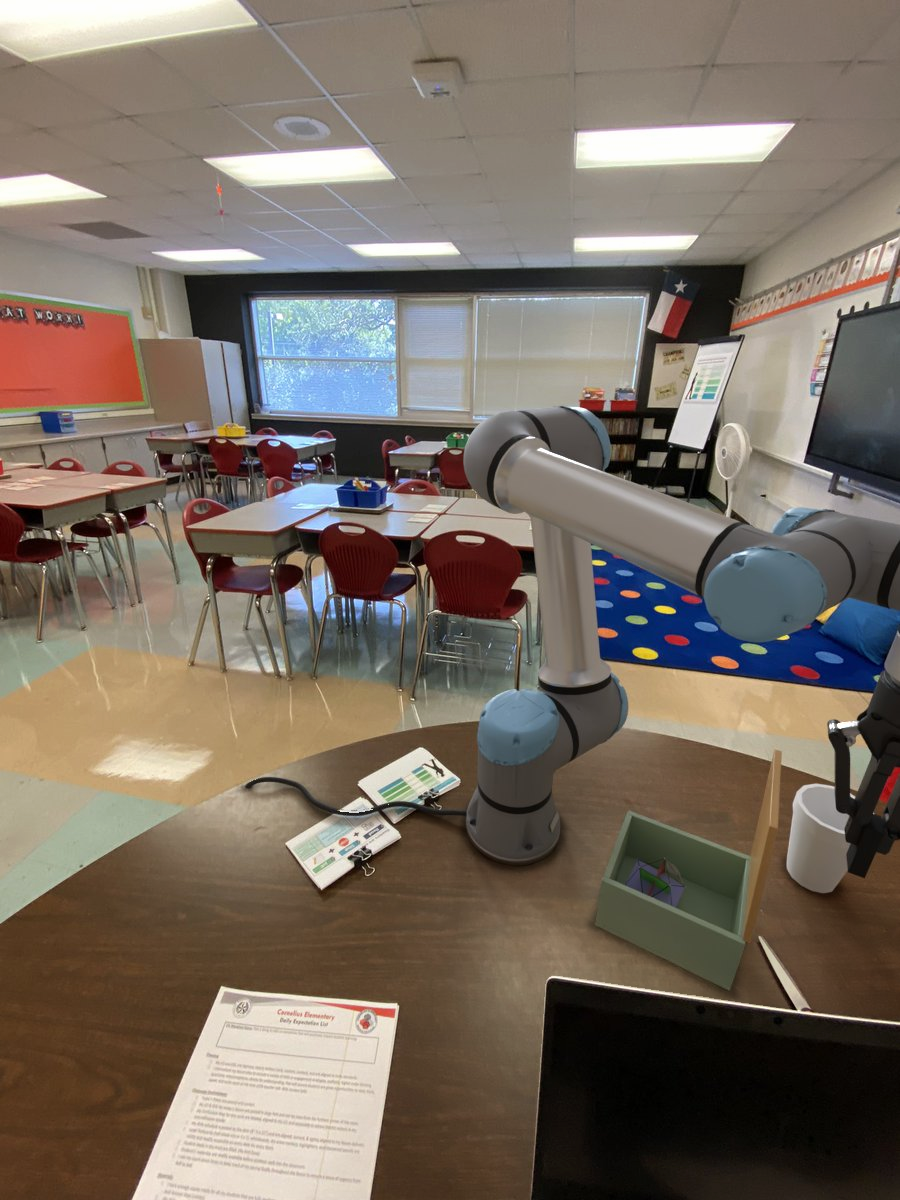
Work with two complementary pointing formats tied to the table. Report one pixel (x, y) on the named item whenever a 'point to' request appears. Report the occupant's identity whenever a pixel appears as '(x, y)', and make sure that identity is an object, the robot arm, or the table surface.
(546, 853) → the robot arm
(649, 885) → the geometric puzzle
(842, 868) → the foam cup
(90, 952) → the table surface
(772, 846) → the lid
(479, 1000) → the table surface
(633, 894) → the chest
